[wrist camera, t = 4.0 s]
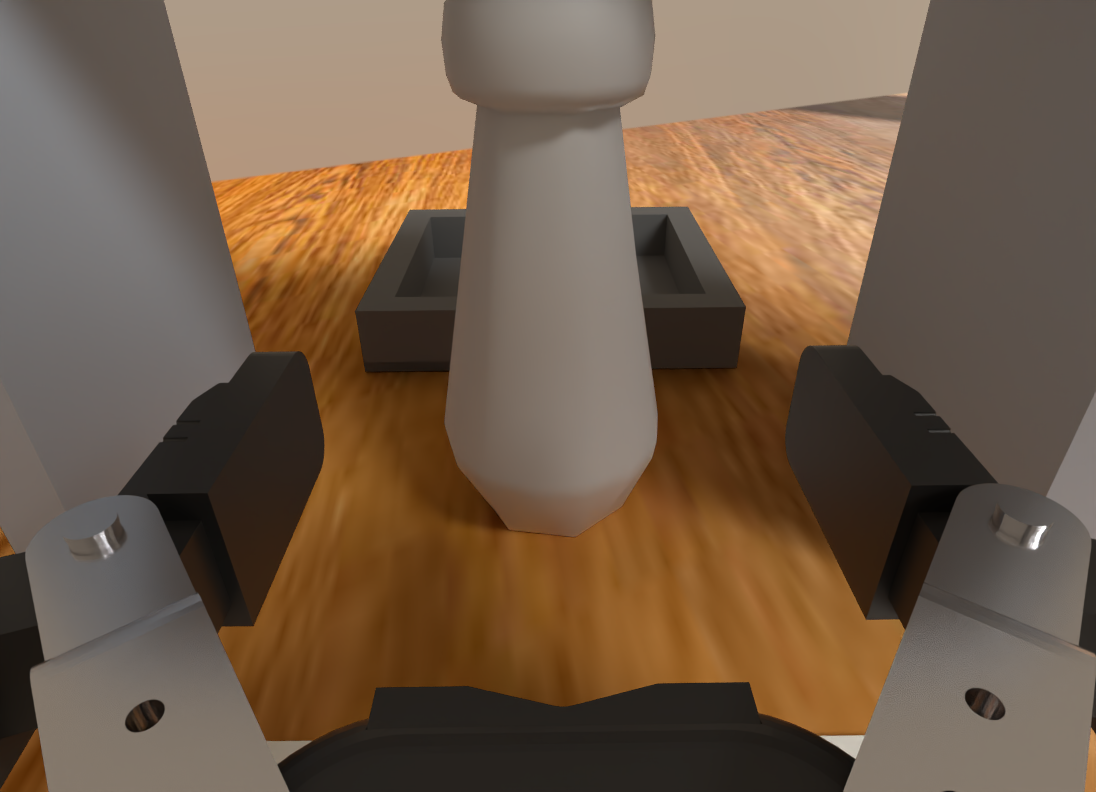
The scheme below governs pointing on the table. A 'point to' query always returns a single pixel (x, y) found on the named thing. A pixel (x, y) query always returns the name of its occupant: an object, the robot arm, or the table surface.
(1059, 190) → the gate
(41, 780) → the table surface
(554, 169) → the salt shaker
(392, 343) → the pit box
